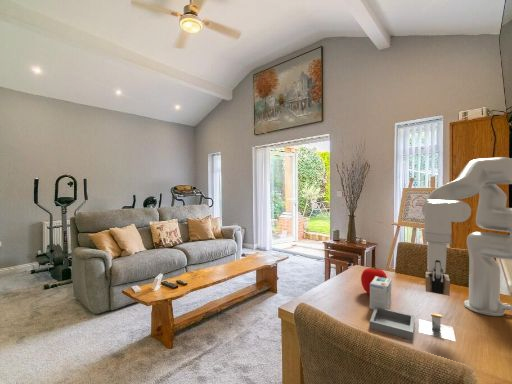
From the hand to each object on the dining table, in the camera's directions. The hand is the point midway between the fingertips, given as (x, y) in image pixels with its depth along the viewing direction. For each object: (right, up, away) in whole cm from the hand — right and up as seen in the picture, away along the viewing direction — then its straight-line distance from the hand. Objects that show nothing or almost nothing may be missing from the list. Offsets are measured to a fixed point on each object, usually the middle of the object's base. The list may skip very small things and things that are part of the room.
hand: (437, 288), depth 90 cm
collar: (0, 0, 0) cm, 0 cm away
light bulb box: (-10, -15, +20) cm, 27 cm away
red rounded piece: (-8, -15, +31) cm, 35 cm away
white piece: (0, -15, 0) cm, 15 cm away
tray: (-14, -15, +3) cm, 21 cm away
